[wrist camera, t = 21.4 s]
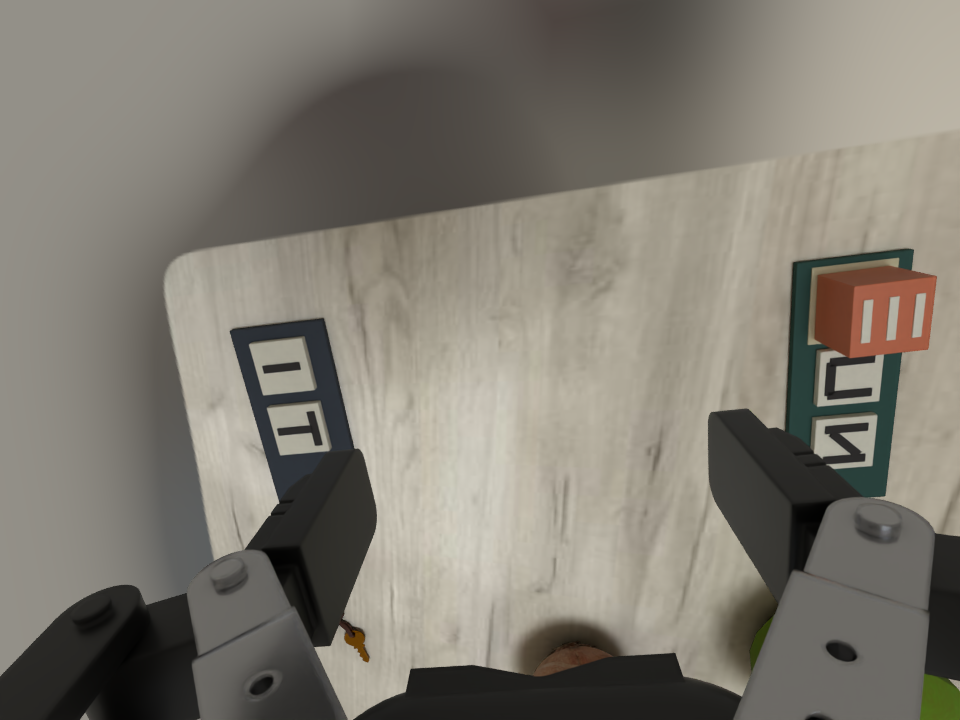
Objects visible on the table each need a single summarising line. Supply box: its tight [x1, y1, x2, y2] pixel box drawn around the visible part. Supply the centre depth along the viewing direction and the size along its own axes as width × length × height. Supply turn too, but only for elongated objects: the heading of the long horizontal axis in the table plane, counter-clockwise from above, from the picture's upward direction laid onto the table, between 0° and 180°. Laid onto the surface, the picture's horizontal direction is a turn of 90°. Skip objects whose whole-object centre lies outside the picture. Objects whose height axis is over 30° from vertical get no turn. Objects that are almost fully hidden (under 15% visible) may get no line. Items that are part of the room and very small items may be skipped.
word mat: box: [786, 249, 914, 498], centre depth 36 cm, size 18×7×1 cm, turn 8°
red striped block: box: [815, 266, 937, 358], centre depth 33 cm, size 4×4×4 cm
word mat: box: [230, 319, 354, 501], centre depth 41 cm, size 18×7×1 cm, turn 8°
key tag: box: [338, 613, 369, 662], centre depth 47 cm, size 8×3×1 cm, turn 49°
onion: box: [533, 641, 613, 676], centre depth 42 cm, size 10×9×10 cm
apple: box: [750, 616, 960, 720], centre depth 38 cm, size 12×12×11 cm
